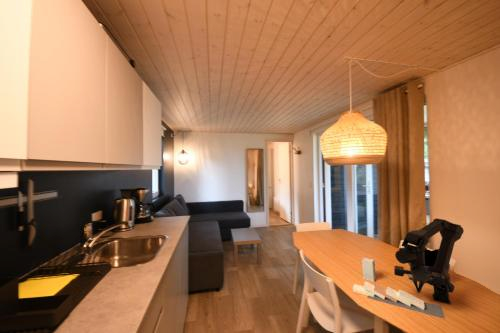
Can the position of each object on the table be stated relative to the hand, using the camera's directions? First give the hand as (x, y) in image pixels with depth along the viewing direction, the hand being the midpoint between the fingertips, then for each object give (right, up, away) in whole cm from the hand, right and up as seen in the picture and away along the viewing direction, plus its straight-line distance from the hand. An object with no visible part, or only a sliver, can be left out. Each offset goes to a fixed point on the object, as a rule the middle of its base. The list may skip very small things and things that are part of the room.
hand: (418, 292), depth 102 cm
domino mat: (-5, -7, +4) cm, 10 cm away
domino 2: (-11, -6, +8) cm, 15 cm away
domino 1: (-15, -6, +10) cm, 19 cm away
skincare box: (-9, -8, +26) cm, 29 cm away
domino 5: (+2, -6, -1) cm, 6 cm away
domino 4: (-3, -6, +2) cm, 7 cm away
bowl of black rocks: (+26, -6, +26) cm, 37 cm away
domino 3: (-7, -6, +5) cm, 11 cm away
